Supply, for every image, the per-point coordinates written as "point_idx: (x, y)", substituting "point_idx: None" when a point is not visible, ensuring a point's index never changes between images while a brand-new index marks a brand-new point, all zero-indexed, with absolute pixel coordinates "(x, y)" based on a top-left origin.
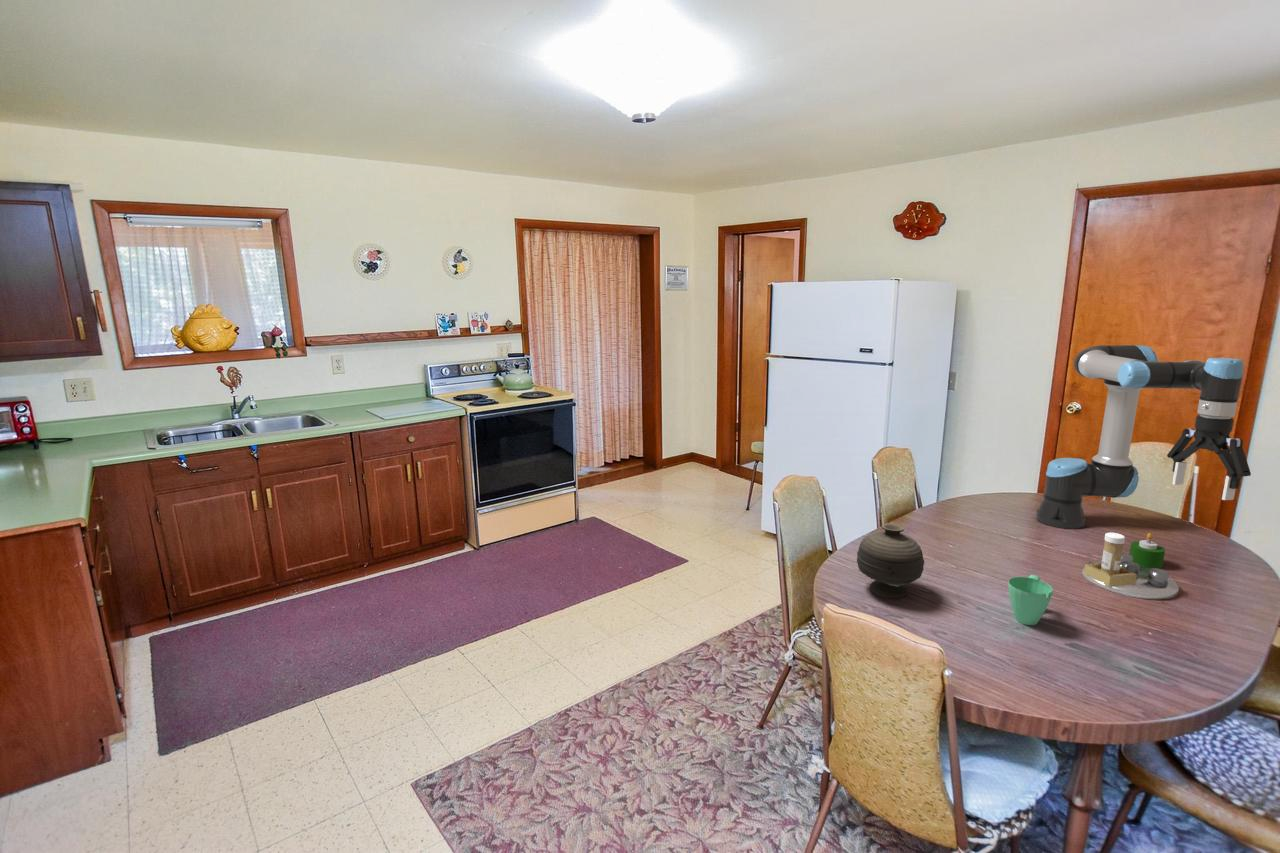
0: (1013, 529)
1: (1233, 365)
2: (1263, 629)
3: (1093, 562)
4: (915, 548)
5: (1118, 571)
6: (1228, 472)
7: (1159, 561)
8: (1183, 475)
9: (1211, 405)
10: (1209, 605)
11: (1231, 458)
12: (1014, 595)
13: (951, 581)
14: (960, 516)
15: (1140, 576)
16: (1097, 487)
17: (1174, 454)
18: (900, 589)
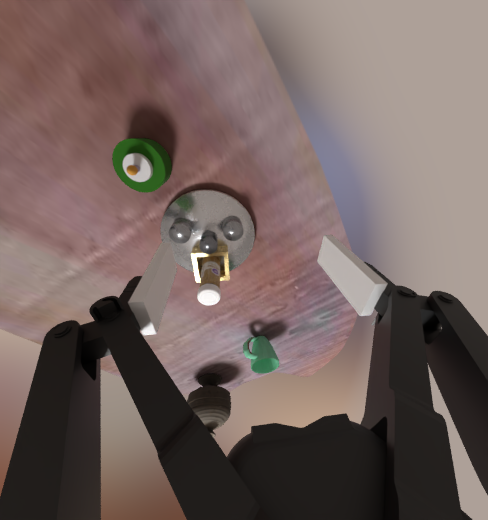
0: (31, 257)
1: None
2: (328, 192)
3: None
4: (222, 415)
5: (219, 265)
6: (375, 327)
7: (168, 163)
8: (162, 264)
9: None
10: (275, 197)
11: (419, 371)
12: (264, 366)
13: (199, 353)
14: None
15: (209, 225)
16: None
17: (83, 356)
18: (216, 380)
